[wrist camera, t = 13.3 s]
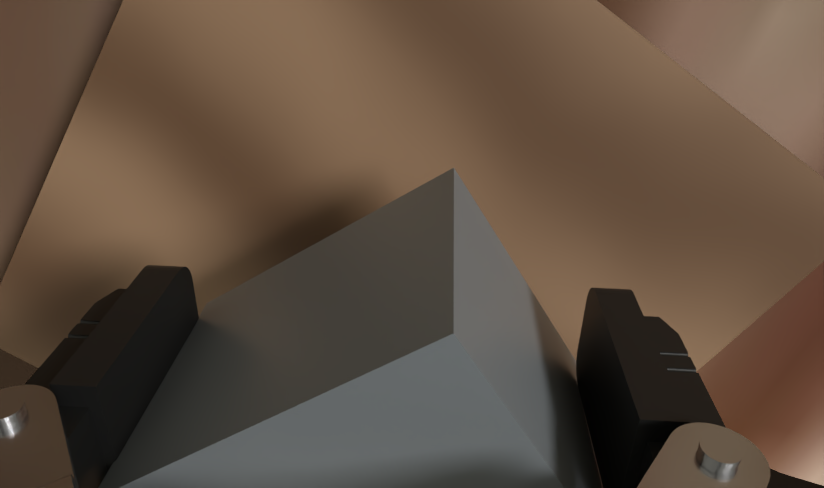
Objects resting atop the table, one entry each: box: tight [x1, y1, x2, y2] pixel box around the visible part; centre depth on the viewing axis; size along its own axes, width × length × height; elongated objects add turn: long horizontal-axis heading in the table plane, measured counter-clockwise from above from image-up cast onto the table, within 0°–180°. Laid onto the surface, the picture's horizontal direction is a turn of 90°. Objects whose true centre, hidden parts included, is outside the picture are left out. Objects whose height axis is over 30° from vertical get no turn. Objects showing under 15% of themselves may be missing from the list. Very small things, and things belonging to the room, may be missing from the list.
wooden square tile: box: [0, 0, 824, 372], centre depth 14 cm, size 16×16×8 cm
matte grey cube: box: [98, 168, 603, 488], centre depth 12 cm, size 6×6×5 cm
